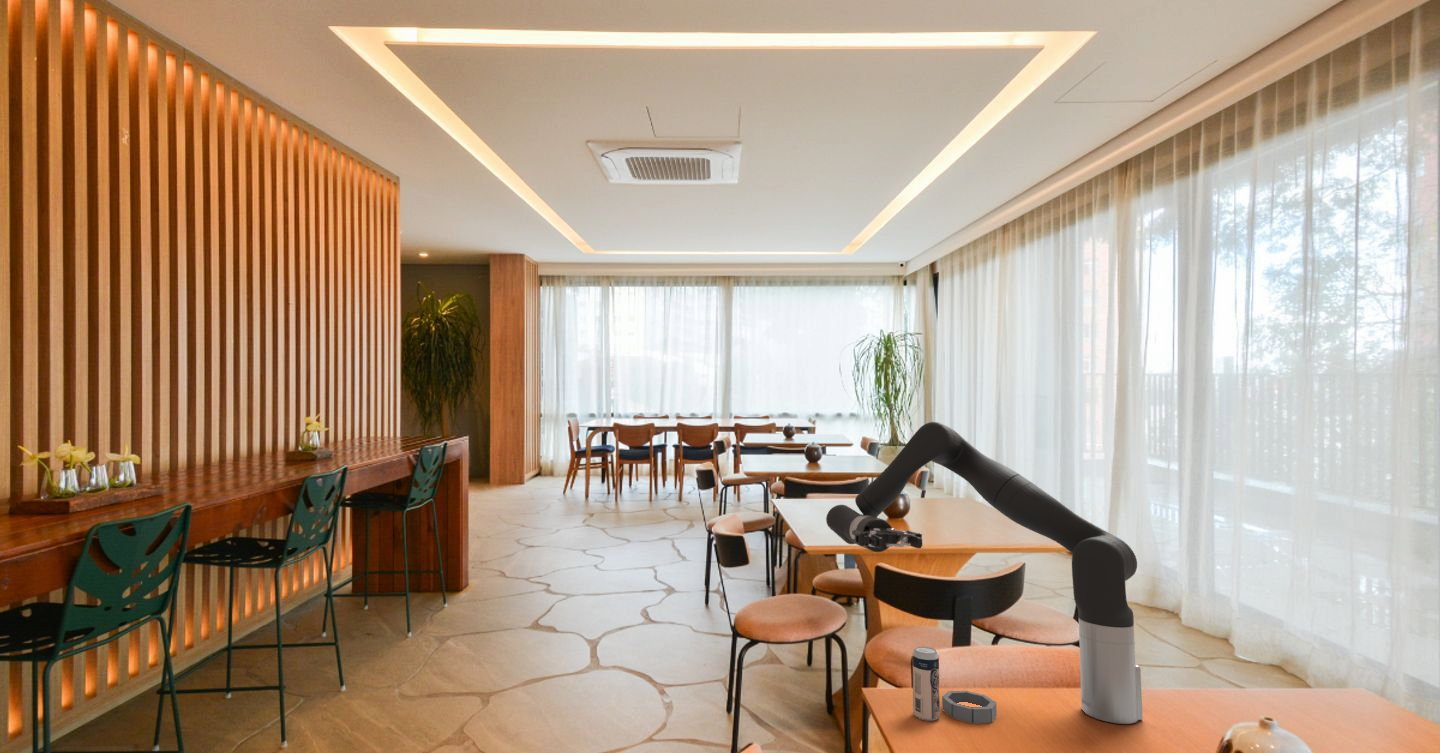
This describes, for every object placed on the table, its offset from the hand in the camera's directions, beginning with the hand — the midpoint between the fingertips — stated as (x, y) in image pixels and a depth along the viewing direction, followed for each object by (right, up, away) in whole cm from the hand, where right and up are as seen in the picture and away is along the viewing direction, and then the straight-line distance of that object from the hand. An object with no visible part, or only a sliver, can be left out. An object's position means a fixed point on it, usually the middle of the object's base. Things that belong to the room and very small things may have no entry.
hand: (900, 543), depth 134 cm
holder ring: (+10, -29, -12) cm, 33 cm away
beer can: (+1, -29, -14) cm, 32 cm away
